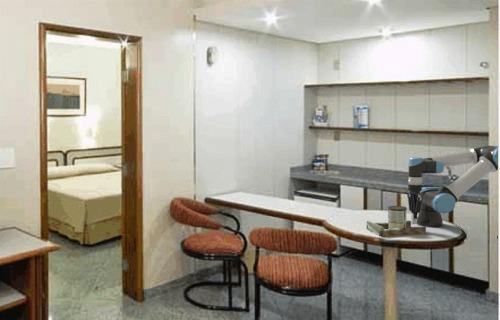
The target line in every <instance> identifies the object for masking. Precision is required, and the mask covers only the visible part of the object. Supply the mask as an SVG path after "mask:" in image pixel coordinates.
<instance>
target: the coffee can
mask: <svg viewBox="0 0 500 320" xmlns="http://www.w3.org/2000/svg"><path fill="white" fill-rule="evenodd" d="M387 209H388V210H387V219H388V221H387V223H388V229H393V228H399V229H403V228H407V227H406V221H407V209H408V208H407V207H406V206H402V205H389V206H388V207H387Z"/></svg>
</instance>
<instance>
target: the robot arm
mask: <svg viewBox="0 0 500 320" xmlns="http://www.w3.org/2000/svg"><path fill="white" fill-rule="evenodd" d="M498 147H499V146H496V145H484V146H479V147H475V148H470V149H469V150H467V151H460V152H455V153H449V154H442V155H438V156H437V155H436V156H430V157H426V158H423V157H417V156H416V157H415V156H414V157H409V158H408V179H407V180H408V182H407V186H408V187H407V191H408V192H409V193H408V194H407V201H408V210H409V212H410V215H411V220H410V221H411V225H418V226H421V227H423V226H424V227H430V228H431V227H432V228H433V227H435V228H436V227H442V226H443V224H444V222H443V221H444V220H443V218H442V215H441V214H447V213H451V212H452V211H453V210H454V209H455V207H456V203H458V202H459V198H460V197H461V196H462V195H464V193H466V192H468V191H469V190H470V189H471V188H472V187H474V186H475V185H476V184H477V183H478V182H480V181H481V180H482V179H484V178H485V177H486V176H487V175H488V174H490V173H496V172H497V171H498V170H499V169H498ZM468 164H471V165H473V166H472V167H470V168H469V169H468V170H466V171H465V172H463V173H462V174H461V175H460V176H459V177H458V178H456V179H455V180H454V181H453V182H452V183H450V184H448V185H443V186H442V187H439V186H438V187H437V186H429V187H428V186H427V187H425V186H423V185H422V184H423V175H425V174H433V175H434V174H435V175H437V174H442V173H443V172H444V169H445V168H450V167H456V166H457V167H458V166H462V165H463V166H464V165H468Z"/></svg>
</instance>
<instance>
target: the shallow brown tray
mask: <svg viewBox="0 0 500 320" xmlns="http://www.w3.org/2000/svg"><path fill="white" fill-rule="evenodd" d="M384 228H388V222H385V221H383V222H373V221H371V220H366V230H367V229H368V230H367V231H369V230H370V231H369V232H371V231H372V232H371V233H373V232H374V233H376V234H377V235H376V234H375V235H376V236H378V235H379V237H380V236H381V237H391V236H392V237H394V236H405V235H406V236H407V235H409V236H410V235H421V234H423V235H424V234H426V232H427V231H426V230H427V226H413V227H412V224H411V220H406V228H403V229H399V228H393V229H384ZM374 233H373V234H374Z"/></svg>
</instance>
